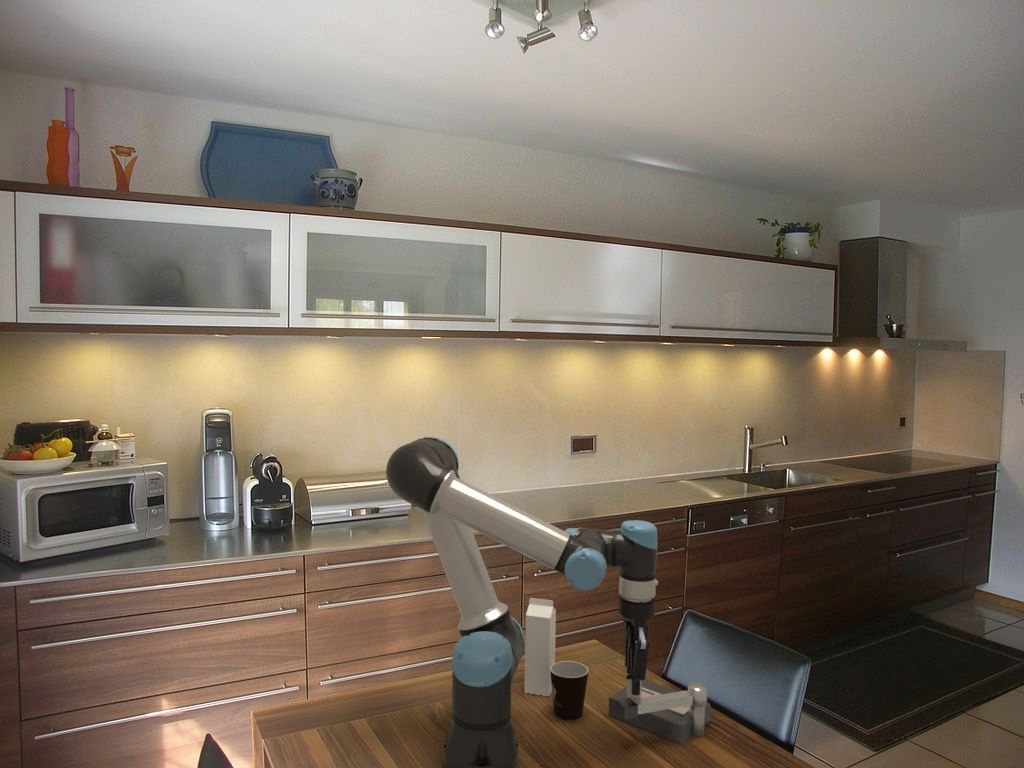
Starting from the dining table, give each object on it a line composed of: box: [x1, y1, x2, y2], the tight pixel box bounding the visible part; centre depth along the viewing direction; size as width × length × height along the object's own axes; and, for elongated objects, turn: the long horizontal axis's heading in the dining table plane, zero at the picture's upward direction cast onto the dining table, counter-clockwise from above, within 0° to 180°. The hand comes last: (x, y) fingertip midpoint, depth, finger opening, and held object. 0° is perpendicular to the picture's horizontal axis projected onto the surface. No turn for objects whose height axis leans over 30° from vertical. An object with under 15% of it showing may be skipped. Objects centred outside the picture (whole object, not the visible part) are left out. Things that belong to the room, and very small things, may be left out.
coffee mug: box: [550, 660, 589, 721], centre depth 162 cm, size 12×9×10 cm
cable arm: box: [616, 682, 708, 719], centre depth 150 cm, size 20×4×3 cm, turn 110°
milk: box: [524, 597, 557, 698], centre depth 172 cm, size 6×6×22 cm
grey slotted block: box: [608, 679, 711, 745], centre depth 159 cm, size 20×13×6 cm, turn 49°
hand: (633, 706), depth 150 cm, fingers closed
